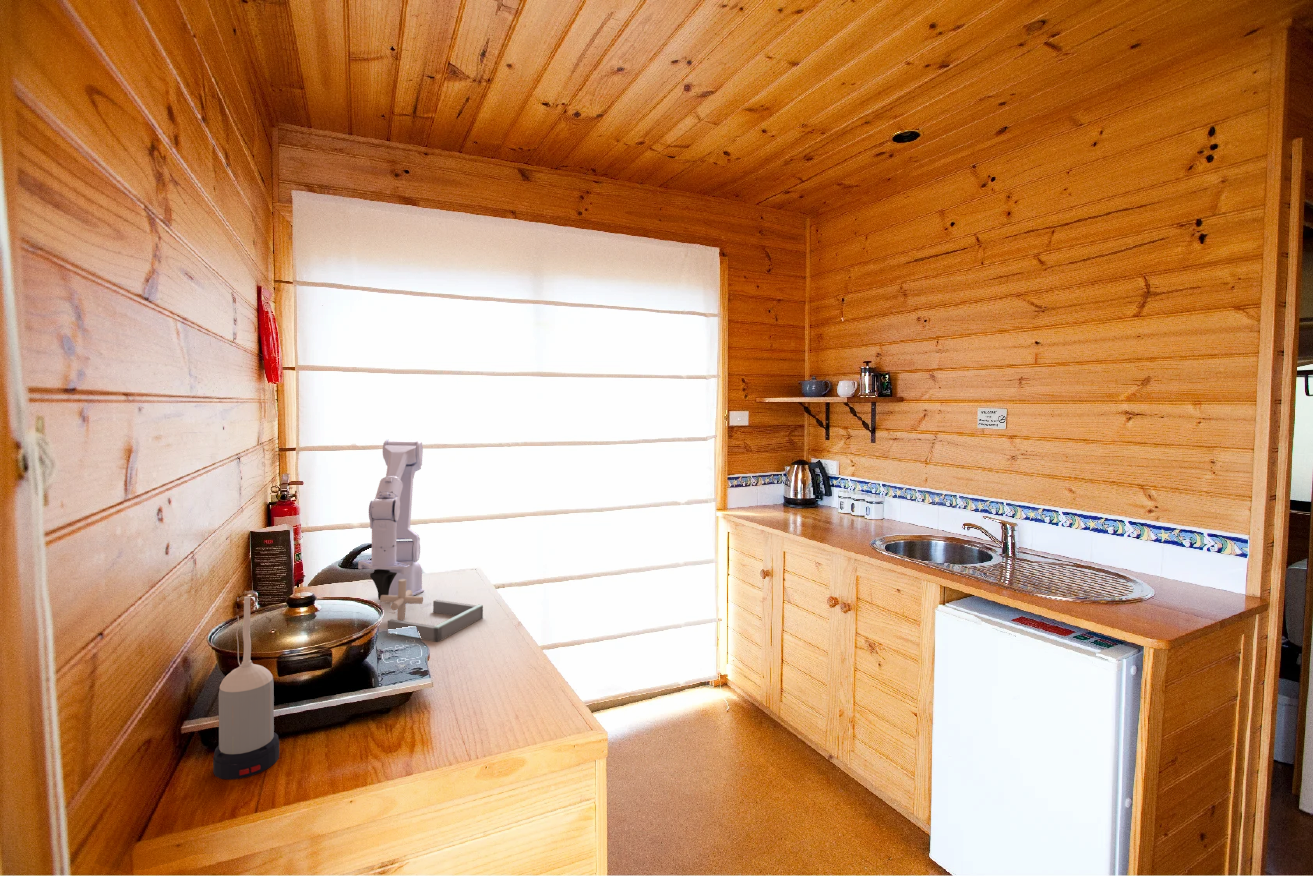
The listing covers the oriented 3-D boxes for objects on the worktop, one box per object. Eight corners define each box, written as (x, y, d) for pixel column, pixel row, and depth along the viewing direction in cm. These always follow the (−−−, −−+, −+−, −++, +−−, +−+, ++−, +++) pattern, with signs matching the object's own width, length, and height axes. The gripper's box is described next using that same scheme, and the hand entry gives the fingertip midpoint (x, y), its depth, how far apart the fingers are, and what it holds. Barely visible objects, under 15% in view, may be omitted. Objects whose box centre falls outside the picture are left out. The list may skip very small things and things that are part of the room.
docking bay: (387, 633, 143) (387, 619, 143) (436, 610, 159) (436, 598, 159) (438, 641, 138) (438, 627, 138) (482, 617, 155) (482, 605, 155)
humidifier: (243, 784, 85) (242, 608, 84) (199, 773, 87) (197, 602, 86) (292, 753, 93) (292, 591, 92) (250, 744, 95) (249, 586, 94)
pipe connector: (414, 627, 148) (415, 587, 147) (372, 625, 147) (373, 585, 147) (427, 613, 158) (429, 575, 157) (388, 611, 157) (390, 573, 157)
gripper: (348, 546, 152) (348, 600, 152) (395, 551, 147) (395, 607, 147) (370, 541, 158) (370, 592, 159) (416, 546, 154) (415, 599, 154)
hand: (383, 599), depth 153 cm, fingers closed, pressing on pipe connector
